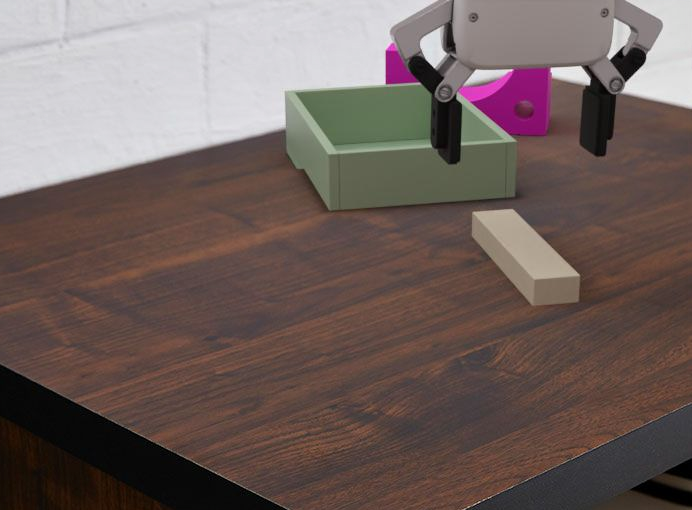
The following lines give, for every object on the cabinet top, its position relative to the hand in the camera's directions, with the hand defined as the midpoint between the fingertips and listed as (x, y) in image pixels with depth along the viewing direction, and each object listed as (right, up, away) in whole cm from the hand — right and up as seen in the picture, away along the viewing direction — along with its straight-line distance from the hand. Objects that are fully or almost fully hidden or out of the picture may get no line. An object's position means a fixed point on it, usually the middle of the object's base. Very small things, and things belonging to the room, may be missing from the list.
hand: (520, 155), depth 89 cm
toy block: (+1, +9, +43) cm, 44 cm away
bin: (-7, +2, +27) cm, 28 cm away
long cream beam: (+1, -8, +4) cm, 9 cm away
